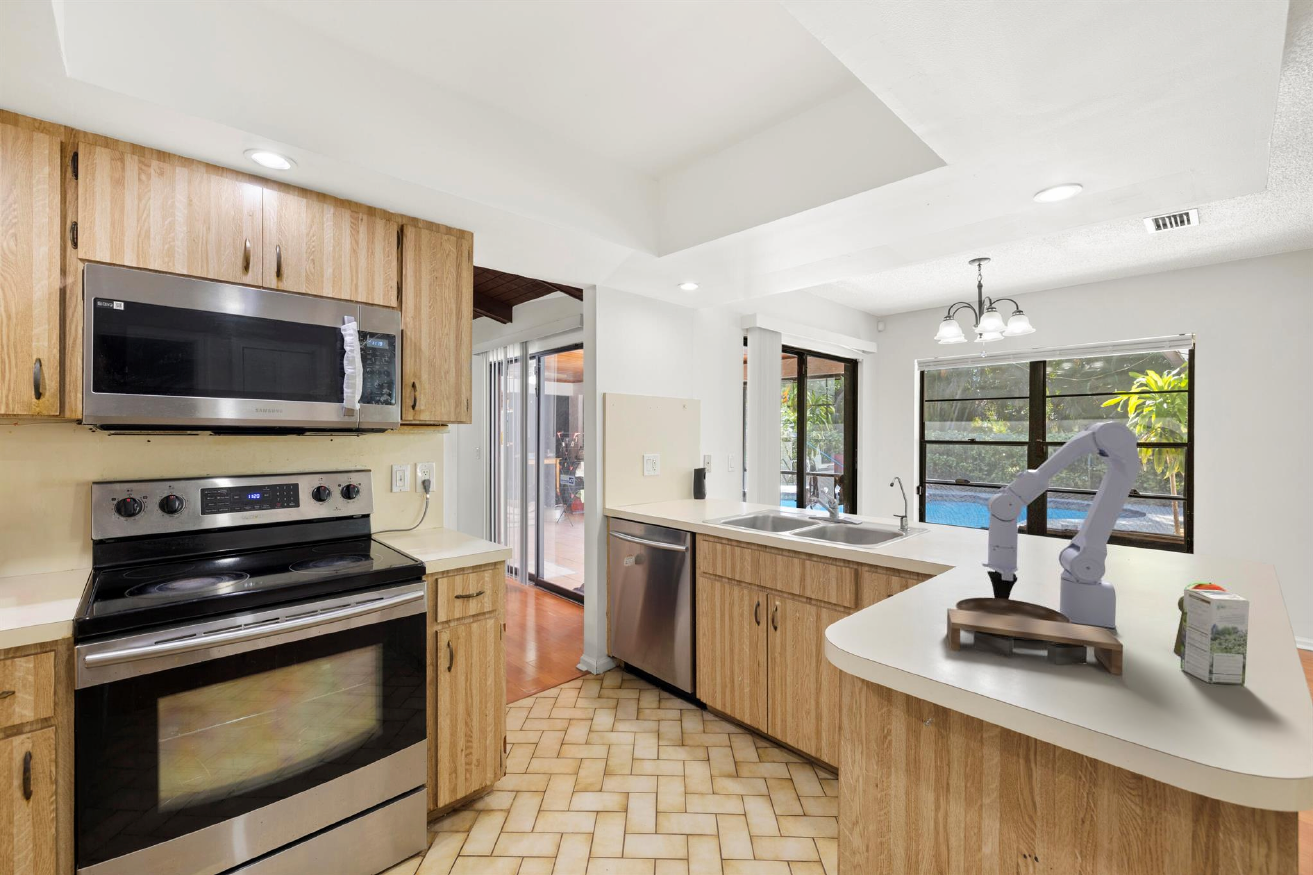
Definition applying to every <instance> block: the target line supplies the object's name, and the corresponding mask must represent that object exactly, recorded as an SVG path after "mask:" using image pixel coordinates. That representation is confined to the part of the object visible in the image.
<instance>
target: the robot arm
mask: <svg viewBox="0 0 1313 875" xmlns="http://www.w3.org/2000/svg"><path fill="white" fill-rule="evenodd" d="M1137 441H1138V437H1137V436H1136V434H1135V433H1134V432H1133V430H1132V429H1130V427H1129V426H1128V425H1126V424H1125V423H1123V422H1119V421H1107V422H1103V421H1097V422H1093V423H1091V424H1089V425H1087V426H1086V427H1085V428H1084V430H1081V431H1079V432H1077V433H1076V434H1075V435H1073V436H1072V437H1071V438H1070V439H1069V440H1067V441H1066V442H1065V443H1064V444H1063V445H1062V446H1061V447H1059V449H1057V450H1056V451H1055V452H1054V453H1053V454H1052V455H1050V456H1049V458H1048V459H1046V461H1044V462H1043V463H1042V464H1041V465H1040V466H1039V467H1038V468H1037V469H1026V470H1025V471H1023V472H1022V471H1019V472H1018V473H1016V474H1015V476H1016V478H1015V479H1014V480H1013V481H1011V482H1010V483H1009V484H1008V485H1007V486H1006V487H1002V486H1001V487H1000V489H999V491H1000V493H996V494H993V495H992V496H991V497H990V498H989V499H988V502H987V503H986V507H987V510H988V512H989V513H990V514H989V524H988V545H987V546H988V549H987V551H988V552H987V561H986V562H985V561H982V563H981V566H982V567H985V568H989V569H991V570H988V571H986V573H987V575H988V577H989V581H990V582H991V585H992V591H993V596H994V597H993V598H1001V599H1010V596H1011V592H1012V590H1013V587H1014V585H1015V584H1016V583H1017V582H1018V580H1019V579H1018V576H1017V574H1016V572H1017V571H1018V570H1019V567H1018V541H1019V540H1018V539H1019V538H1018V533H1019V531H1018V530H1019V527H1018V517H1020V516H1021V514H1022V510H1023V508H1026V507H1027V506H1028V505H1030V504H1031V503H1032V502H1033V501H1034V500H1036V499H1037V498H1038V497H1039V496H1041V495H1042V494H1043V493H1044V492H1046V491H1047V490H1048V489H1049V481H1050V479H1052V478H1053V477H1054V476H1056V475H1057V474H1058V473H1060V472H1061V471H1062V470H1064V469H1065V468H1067V467H1068V466H1069V465H1071V464H1072V463H1074V461H1075V460H1077V459H1079V458H1080V457H1084V456H1089V455H1095V454H1097V455H1098V456H1099V457H1100V459H1101V460H1102V461H1103V463H1104V465H1105V466H1106V467H1107V470H1106V471H1105V473H1104V475H1103V478H1102V480H1101V482H1100V485H1099V487H1098V490H1097V491H1096V494H1095V496H1094V498H1093V500H1092V502H1091V504H1090V507H1089V509H1088V511H1087V514H1086V516H1085V518H1084V520H1083V523H1082V525H1081V526H1080V529H1079V531H1078V533H1077V534H1076V535H1074V536H1073V537H1072V539H1071V540H1070V542H1069V543H1068V545H1067V546H1065V547H1064V548H1063V549H1061V551H1060V553H1059V554H1058V562H1059V565H1060V566H1061V568H1063V571H1062V573H1061V574H1060V586H1059V587H1060V589H1059V594H1060V595H1059V609H1056V608H1055V609H1053V610H1056V611H1058V612H1060V613H1062V614H1064V615H1065V616H1067V617H1068V618H1069V619H1070V621H1071V624H1077V625H1085V626H1094V627H1102V628H1110V629H1111V628H1112V629H1117V625H1116V612H1117V611H1116V609H1117V607H1116V606H1117V596H1116V594H1117V593H1116V589H1115V587H1114V585H1113V584H1112V583H1110V582H1106V581H1102V578H1104V576H1105V573H1106V564H1105V561H1106V558H1107V555H1108V547H1107V543H1108V541H1109V539H1110V536H1111V535H1112V532H1113V530H1114V527H1115V526H1116V524H1117V521H1118V520H1119V517H1120V515H1121V512H1122V511H1123V508H1124V505H1125V504H1126V503H1127V500H1128V499H1129V498H1128V497H1129V495H1130V492H1131V491H1132V489H1133V486H1134V485H1135V482H1136V480H1137V478H1138V476H1139V474H1140V471H1141V468H1142V464H1141V458H1140V454H1139V450H1138V447H1137ZM992 570H993V571H992Z"/></svg>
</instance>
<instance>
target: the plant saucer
mask: <svg viewBox="0 0 1313 875" xmlns="http://www.w3.org/2000/svg"><path fill="white" fill-rule="evenodd" d="M955 609H957V610H965V611H973V612H981V613H989V614H997V615H1005V616H1013V617H1021V618H1029V619H1037V620H1045V621H1053V622H1061V623H1069V624H1072V623H1071V621H1070V619H1069V618H1068V617H1067V616H1065V615H1064V614H1062V613H1060V612H1058V611H1056V610H1057V609H1056V610H1054V609H1052V608H1050V607H1047V606H1043V605H1041V604H1036V603H1031V602H1027V601H1022V600H1015V599H1010V598H1009V599H1001V598H994V597H970V598H965V599H961V600H959V601H957V602H956V603H955ZM993 634H996V633H993ZM997 635H1000V636H1004V637H1007V638H1011V639H1018V640H1028V641H1031V640H1033V641H1041V640H1040V639H1033V638H1025V637H1018V636H1011V635H1003V634H997Z"/></svg>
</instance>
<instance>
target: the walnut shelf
mask: <svg viewBox="0 0 1313 875" xmlns="http://www.w3.org/2000/svg"><path fill="white" fill-rule="evenodd" d="M946 611H947V616H946V618H947V619H946V636H947V639H948V643H949V647H950V650H951V651H961V630H966V631H974V632H973V633H974V634H973V648H974V649H979V650H982V651H985V652H988V653H991V654H995V655H999V656H1001V657H1005V658H1007V659H1008V658H1011V657H1013V655H1014V638H1010V637H1005V636H1000V635H997V634H1003V635H1011V636H1018V637H1025V638H1033V639H1040V640H1039V641H1041V640H1042V641H1048V642H1054V643H1047V648H1046V650H1047V651H1046V653H1047V655H1046V659H1047V660H1046V661H1047V662H1049V663H1052V664H1053V663H1054V664H1053V665H1055V666H1065V665H1084V664H1083V663H1087V662H1088V660H1087V657H1088V656H1087V655H1088V647H1093V655H1094V654H1095V655H1094V656H1095V657H1096V658H1097V659H1098V661H1099V662H1100V661H1101V662H1102V663H1103V664H1102V663H1101V662H1100V663H1101V664H1102V665H1103V666H1104V668H1106V669H1107V670H1108V672H1109V671H1110V672H1111V673H1110V672H1109V673H1110V674H1113V675H1118V674H1119V675H1120V676H1122V675H1123V661H1124V660H1123V655H1124V645H1123V643H1122V642H1120V640H1118V638H1116V637H1115V635H1113V634H1112V633H1111V632H1110V631H1109V630H1107V629H1106V627H1102V626H1094V625H1086V624H1078V623H1071V624H1069V623H1061V622H1053V621H1045V620H1037V619H1029V618H1021V617H1013V616H1005V615H997V614H989V613H981V612H973V611H965V610H957V608H955V609H954V608H947V610H946ZM993 633H996V634H993ZM1055 642H1056V643H1055ZM1119 675H1118V676H1119Z"/></svg>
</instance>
